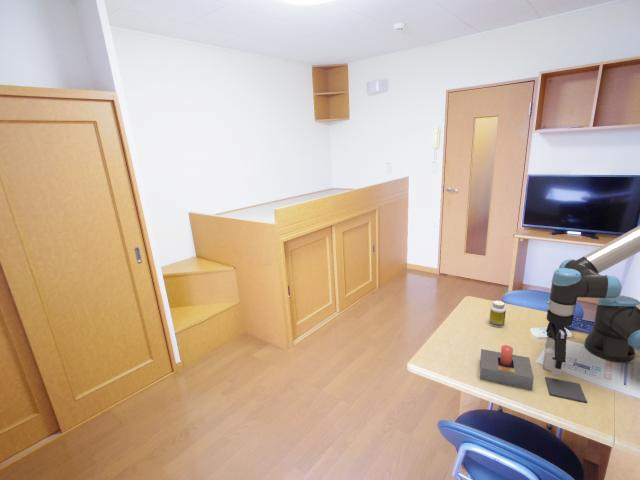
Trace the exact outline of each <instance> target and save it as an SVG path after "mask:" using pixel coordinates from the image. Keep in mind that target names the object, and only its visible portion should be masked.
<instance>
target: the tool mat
mask: <svg viewBox="0 0 640 480" xmlns="http://www.w3.org/2000/svg"><path fill="white" fill-rule="evenodd" d="M544 380H545V382H546V383H545V384H546V387H547V390H548V394H549V396H551V397H557V398H560V399H564V400H570V401H575V402H580V403H585V404H587V403H588V401H587V398H586V395H585V393H584V391H583V388H582V387H581V384H580V383H578V382H573V381H569V380H563V379H559V378H555V377H554V378H553V377H548V376H545V377H544Z"/></svg>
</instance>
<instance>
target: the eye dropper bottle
mask: <svg viewBox="0 0 640 480" xmlns="http://www.w3.org/2000/svg"><path fill="white" fill-rule="evenodd" d="M553 357H554V358H555V342H553V343H552V344H551V348H547V349H545V348H544V353H543V361H542V368H543V369H544V370H546V371H548V372H551V371H552V365H553V359H552V358H553Z"/></svg>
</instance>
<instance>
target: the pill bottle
mask: <svg viewBox="0 0 640 480" xmlns="http://www.w3.org/2000/svg"><path fill="white" fill-rule="evenodd" d="M506 312H507V311H506V307H505V302H503V301H501V300H493V301H492V305H491V307H490V309H489V321H488V322H489V324H490V326H493V327H495V328H502V327H504V326H505V322H506Z"/></svg>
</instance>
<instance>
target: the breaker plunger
mask: <svg viewBox="0 0 640 480" xmlns="http://www.w3.org/2000/svg"><path fill="white" fill-rule="evenodd" d="M500 352H501V357H500V364H501V365H502V366H505V367H510V366H511V363H512V355H514V354H513V352H514V348H513V347H512V346H510V345H502V346H501V349H500Z"/></svg>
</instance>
